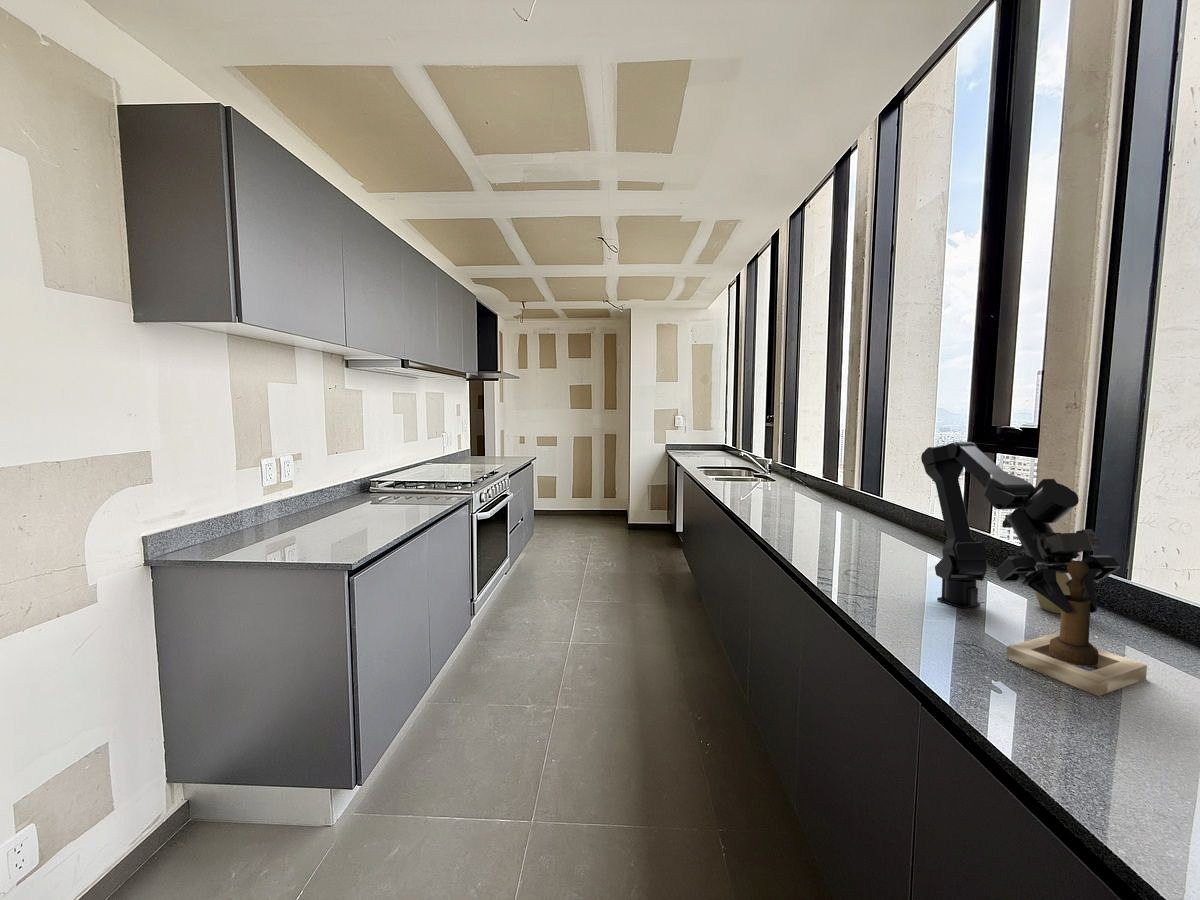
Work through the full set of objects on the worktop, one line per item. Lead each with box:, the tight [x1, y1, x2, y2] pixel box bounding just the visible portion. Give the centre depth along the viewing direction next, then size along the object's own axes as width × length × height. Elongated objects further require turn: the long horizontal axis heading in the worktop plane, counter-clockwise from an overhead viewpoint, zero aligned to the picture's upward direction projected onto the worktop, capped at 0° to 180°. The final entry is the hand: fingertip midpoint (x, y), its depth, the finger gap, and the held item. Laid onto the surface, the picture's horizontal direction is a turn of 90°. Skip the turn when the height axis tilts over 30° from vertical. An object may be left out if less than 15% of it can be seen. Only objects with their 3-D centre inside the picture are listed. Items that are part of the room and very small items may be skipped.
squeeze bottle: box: [1034, 559, 1075, 614], centre depth 121 cm, size 8×8×18 cm
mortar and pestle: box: [1049, 560, 1098, 667], centre depth 94 cm, size 7×6×18 cm
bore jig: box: [1005, 633, 1148, 697], centre depth 95 cm, size 14×14×2 cm
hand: (1081, 612), depth 93 cm, fingers closed on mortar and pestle, 4 cm apart
